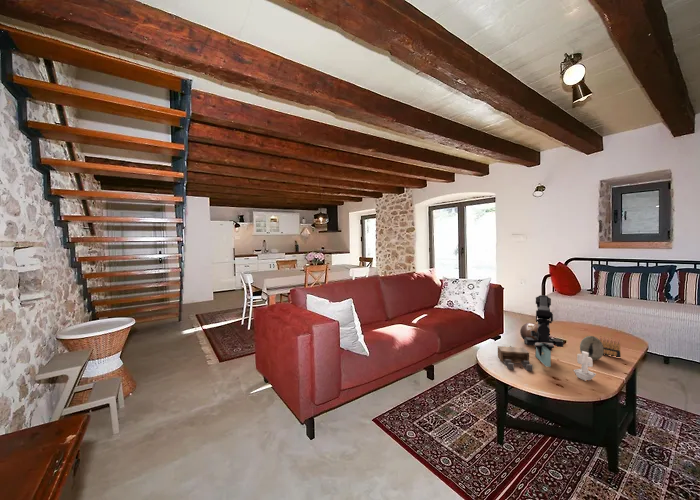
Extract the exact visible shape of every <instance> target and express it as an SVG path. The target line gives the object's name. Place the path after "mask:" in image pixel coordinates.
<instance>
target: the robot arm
mask: <svg viewBox="0 0 700 500" xmlns="http://www.w3.org/2000/svg"><path fill="white" fill-rule="evenodd" d="M535 305H536V308H537V309H536V310H535V322H537V324H538V330H537V332H535V331H531V336H534V338H536V340H534V339H533V338H529V337H525V338H524V339H523V341H524V343H525V344H526V345H528V346H534V349H535V351H534V353H535V354H534V355H535V357H536V347H537V350H538V352H539V355H540V356H541V349H542V346H541V345H540V343H542V344H543V345H544V346H546V347H547V348H548V349H549V350H550V351H551V352H552V351H553V348H554V349H555V346H556V347H558V348H564V342H563V341H562V340H561V339H559V338H552V339H551V340H550V337H551V333H550V332H551V329H550V324H552V323H553V322H554V314H553V312H552V311H551V308H550V306H552V298H551V297H549V296H548V295H541V294H540V295H538V296H536V297H535ZM554 345H555V346H554ZM537 360H539V359H538V358H537ZM539 361H540V360H539Z"/></svg>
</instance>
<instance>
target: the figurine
mask: <svg viewBox="0 0 700 500" xmlns="http://www.w3.org/2000/svg"><path fill="white" fill-rule="evenodd" d="M588 355H589V353H588V352H585V351H582V353H577V357H576V361H577V363H578V365H579V364H580V365H581V368H576V369H573V370H572V371H573V372H574V374H575V375H576V377H577V378H578V379H580V380H582V381H585V382H587V381H586V380H588V381H591V379H592V380H593V378H595V376H596V375H597V373H595V372H593V371H590V370H589V367H590V368H593V365H594V364H593V363H594V362H593V361H594V360H592V358H591V357H588Z"/></svg>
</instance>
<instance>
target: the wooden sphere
mask: <svg viewBox="0 0 700 500" xmlns="http://www.w3.org/2000/svg"><path fill="white" fill-rule="evenodd" d="M537 330H538V323H535V322H526V323H524V324H523V325H522V326H521V327H520V332H519V334H520V336H521V338H522V340H524V338H525V337H529V338H533V339H534V340H536V338H534V336H531V331H535V332H537Z"/></svg>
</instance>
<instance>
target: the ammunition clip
mask: <svg viewBox="0 0 700 500" xmlns="http://www.w3.org/2000/svg"><path fill="white" fill-rule="evenodd" d="M599 340H600V341H601V343H602V344H603V348H604V353H603V354H605V355H611V356H616V357H621V340H620V339H618V340H617V339H616V338H615V339H614V341H613V338H610V339H609V337H607V338H606V336H603V337H602V336H600V337H599ZM605 355H604V356H605Z"/></svg>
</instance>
